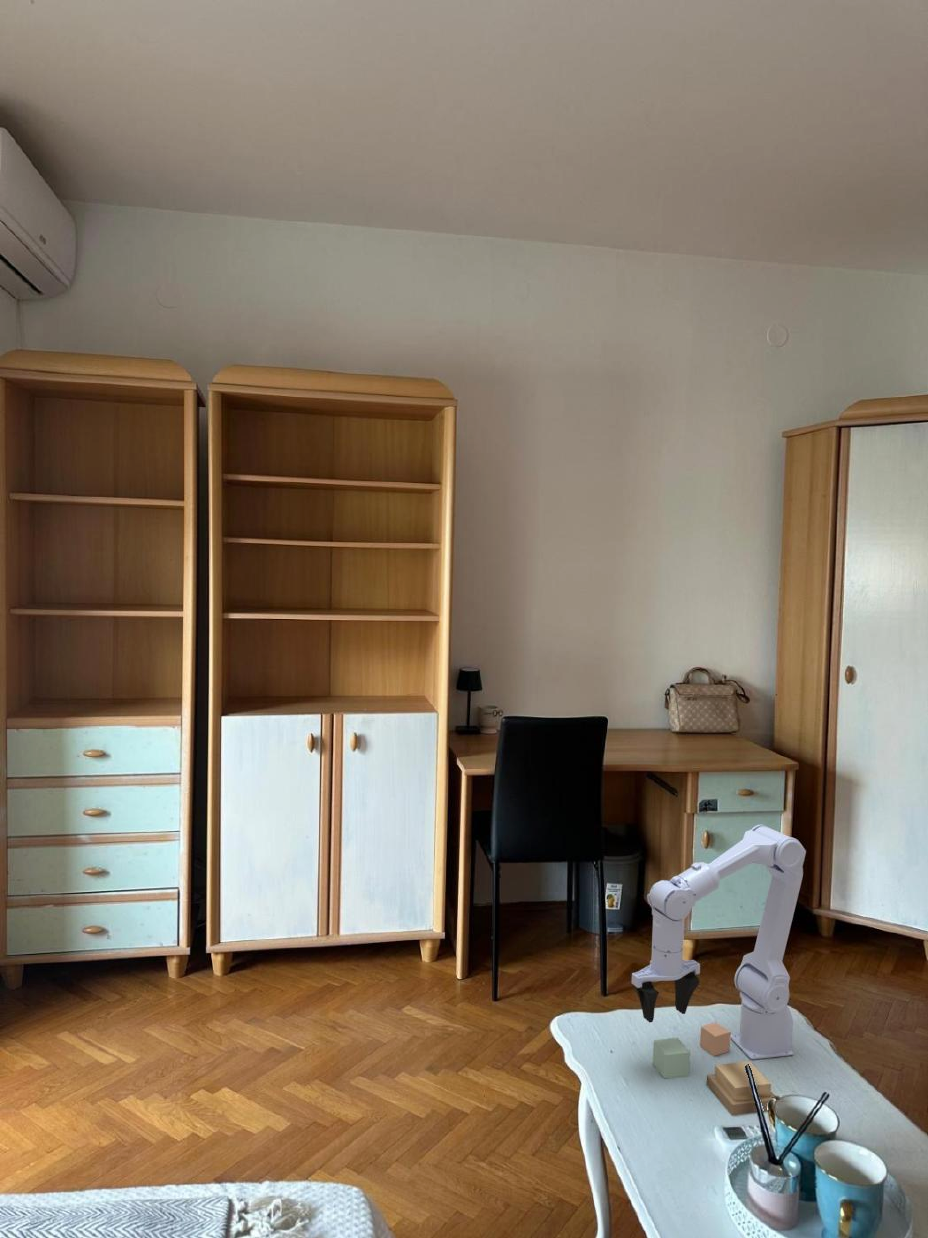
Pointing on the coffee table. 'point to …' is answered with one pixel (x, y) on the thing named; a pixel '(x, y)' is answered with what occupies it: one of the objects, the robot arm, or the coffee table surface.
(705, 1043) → the terracotta cube
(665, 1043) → the sage cube
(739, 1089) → the slab top
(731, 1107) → the slab bottom
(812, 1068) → the coffee table surface
